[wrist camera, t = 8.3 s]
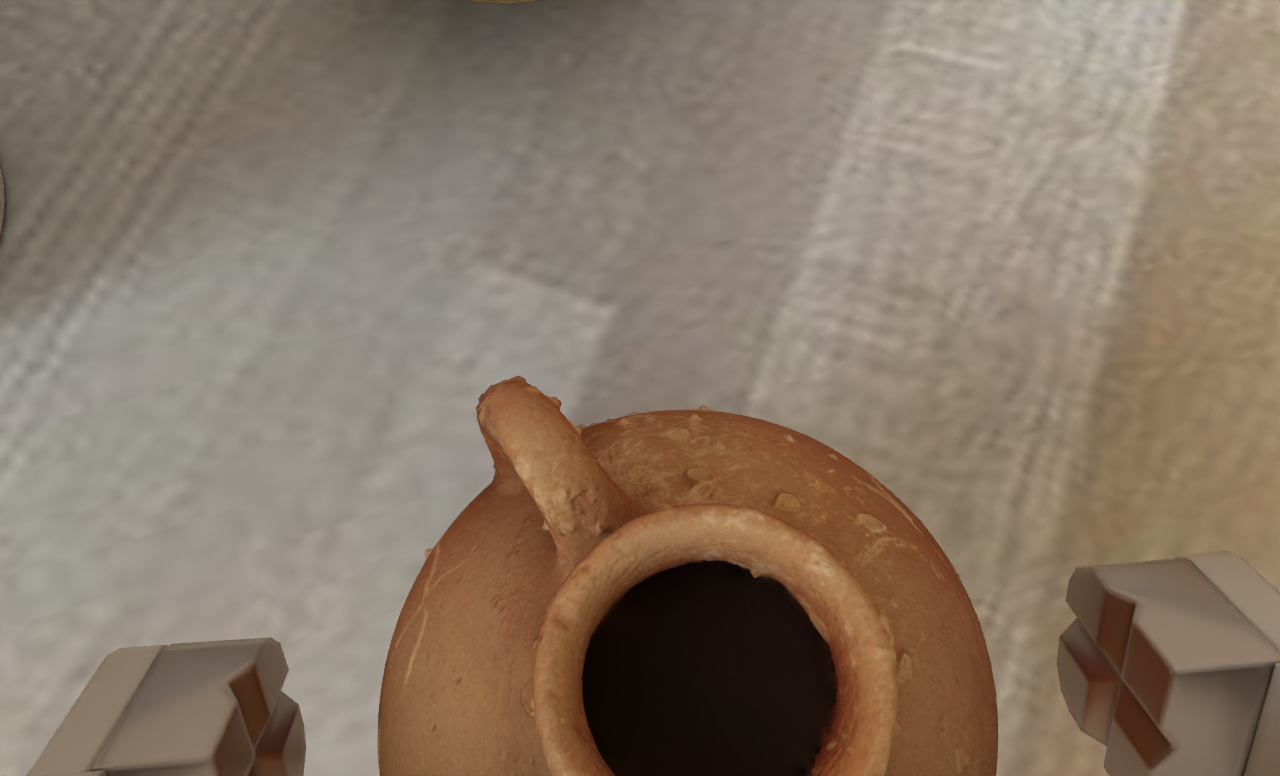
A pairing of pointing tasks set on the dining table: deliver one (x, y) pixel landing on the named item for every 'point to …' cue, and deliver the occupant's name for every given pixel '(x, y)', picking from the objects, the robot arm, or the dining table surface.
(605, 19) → the dining table surface
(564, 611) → the pot
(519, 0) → the potato
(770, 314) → the dining table surface
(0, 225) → the coffee cup
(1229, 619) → the robot arm
